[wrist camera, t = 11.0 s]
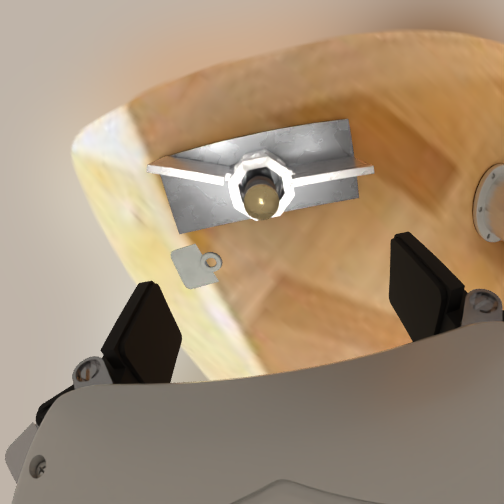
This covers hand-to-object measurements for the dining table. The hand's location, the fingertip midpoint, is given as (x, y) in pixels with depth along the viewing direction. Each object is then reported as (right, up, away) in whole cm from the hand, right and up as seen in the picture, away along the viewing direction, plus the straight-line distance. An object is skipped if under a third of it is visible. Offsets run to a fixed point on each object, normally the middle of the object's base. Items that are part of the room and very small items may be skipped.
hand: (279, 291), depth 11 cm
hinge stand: (0, +10, +20) cm, 22 cm away
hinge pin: (0, +10, +19) cm, 21 cm away
